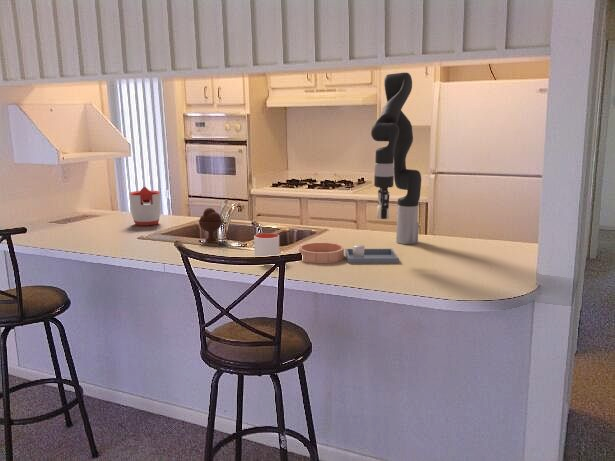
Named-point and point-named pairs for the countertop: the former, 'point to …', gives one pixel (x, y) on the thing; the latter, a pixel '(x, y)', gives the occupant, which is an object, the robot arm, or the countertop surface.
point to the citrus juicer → (145, 207)
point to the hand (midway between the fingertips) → (382, 217)
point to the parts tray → (373, 256)
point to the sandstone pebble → (380, 212)
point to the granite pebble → (358, 251)
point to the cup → (266, 244)
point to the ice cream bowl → (210, 223)
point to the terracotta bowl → (321, 252)
